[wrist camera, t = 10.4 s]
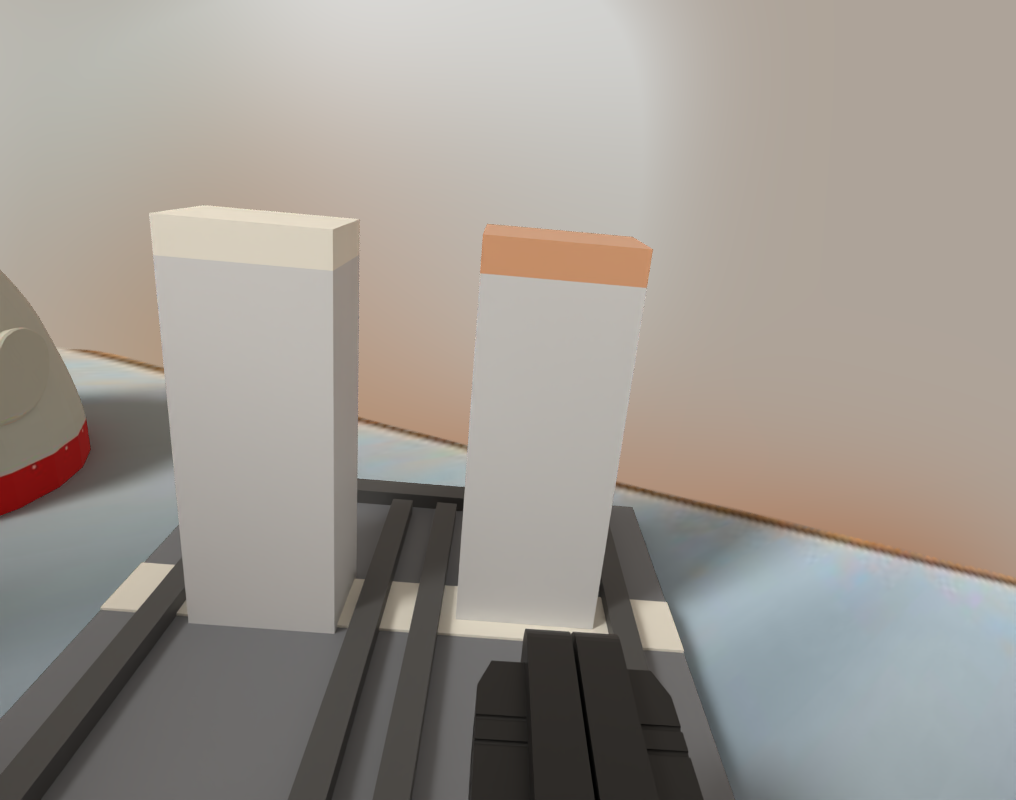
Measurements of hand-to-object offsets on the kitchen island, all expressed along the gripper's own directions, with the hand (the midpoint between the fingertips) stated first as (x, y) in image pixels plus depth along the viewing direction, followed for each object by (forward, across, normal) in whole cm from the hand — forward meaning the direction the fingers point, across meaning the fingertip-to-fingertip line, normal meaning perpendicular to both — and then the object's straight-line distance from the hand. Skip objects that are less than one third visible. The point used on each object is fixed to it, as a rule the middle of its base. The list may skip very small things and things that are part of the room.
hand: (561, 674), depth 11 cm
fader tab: (+10, 0, +6) cm, 12 cm away
